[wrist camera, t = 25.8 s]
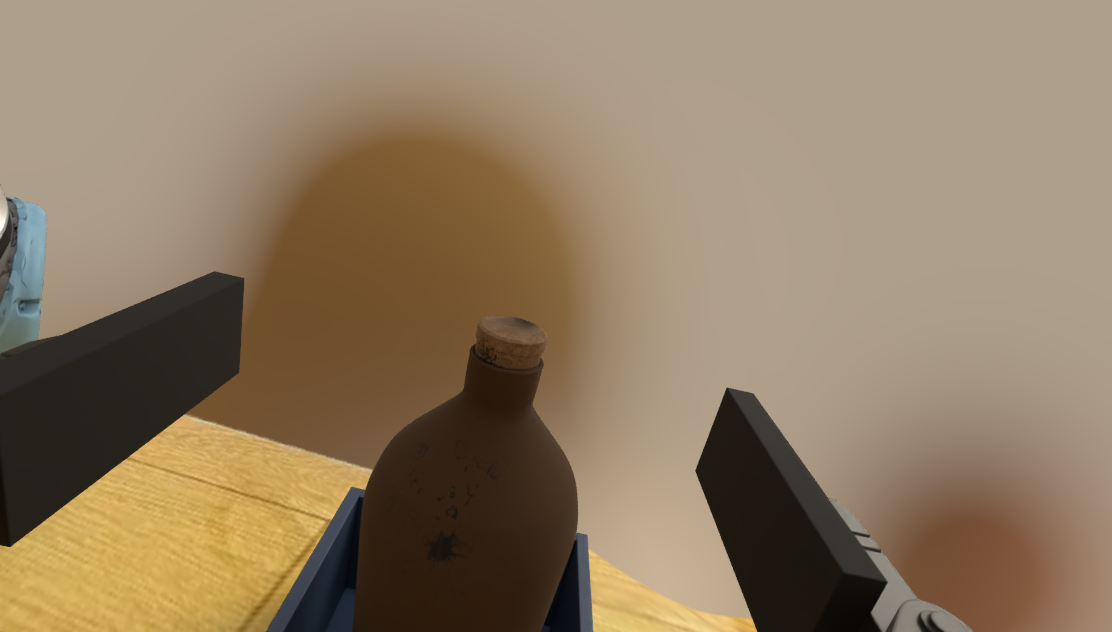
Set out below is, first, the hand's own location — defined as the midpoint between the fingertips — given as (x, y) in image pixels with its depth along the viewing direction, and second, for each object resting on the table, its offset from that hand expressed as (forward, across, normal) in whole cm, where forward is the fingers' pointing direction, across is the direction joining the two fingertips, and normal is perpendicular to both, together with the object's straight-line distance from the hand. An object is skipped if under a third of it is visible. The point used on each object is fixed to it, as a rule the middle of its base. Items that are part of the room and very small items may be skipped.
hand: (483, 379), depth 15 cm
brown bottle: (+10, +1, -27) cm, 29 cm away
